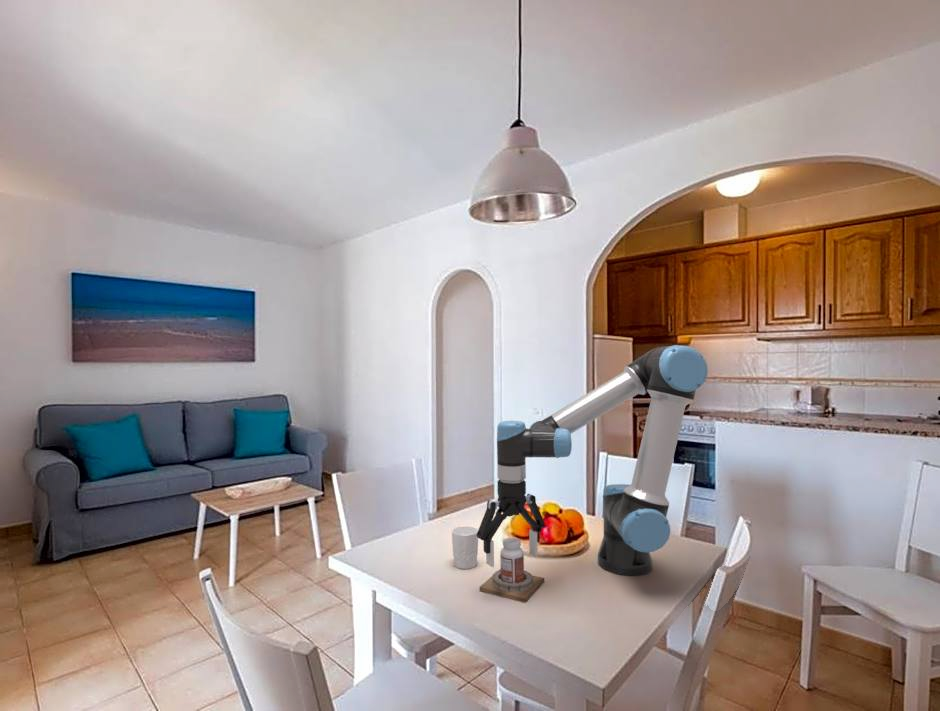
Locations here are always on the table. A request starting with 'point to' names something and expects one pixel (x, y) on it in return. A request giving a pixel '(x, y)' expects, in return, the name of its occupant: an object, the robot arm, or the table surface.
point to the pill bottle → (512, 561)
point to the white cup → (465, 546)
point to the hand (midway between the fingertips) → (512, 559)
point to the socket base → (513, 594)
